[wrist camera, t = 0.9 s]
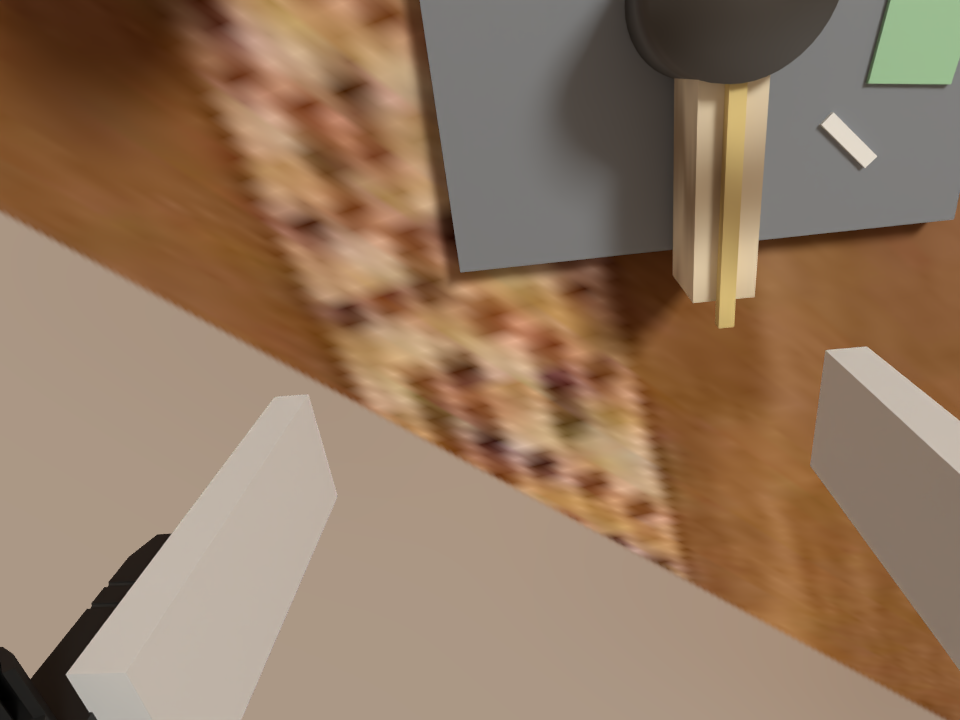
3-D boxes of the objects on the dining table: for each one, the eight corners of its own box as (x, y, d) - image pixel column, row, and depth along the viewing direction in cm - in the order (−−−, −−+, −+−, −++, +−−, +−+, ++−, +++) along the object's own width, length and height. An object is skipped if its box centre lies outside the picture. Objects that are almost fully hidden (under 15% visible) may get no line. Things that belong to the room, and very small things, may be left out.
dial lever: (622, -85, 22) (648, -124, 18) (791, -114, 22) (863, -162, 17) (630, 295, 29) (651, 337, 24) (761, 282, 28) (807, 323, 23)
